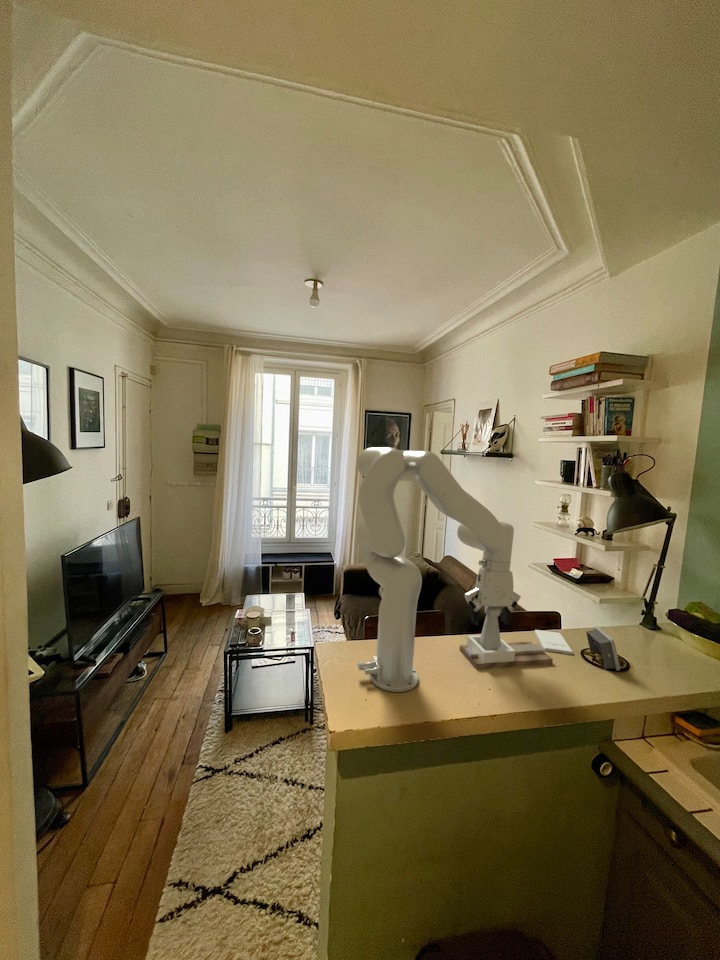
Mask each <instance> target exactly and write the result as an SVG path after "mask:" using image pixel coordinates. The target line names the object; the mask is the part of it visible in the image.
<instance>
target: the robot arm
mask: <svg viewBox="0 0 720 960" xmlns="http://www.w3.org/2000/svg"><path fill="white" fill-rule="evenodd" d="M356 467H357V470H358V472H359V473H360V475H362V477H363V479H362V481H361V485H360V488H359V492H358V504H359V509H360V512H361V516H362V518H361V519H360V520H359V522H358V524H357V526H356V531H355V533H356V534H355V535H356V540H357V544H358V547H359V550H360V553H361V555H362V559H363V561H364V564H365V567H366V570H367V573H368V574H369V576H370V577H371V578H372V579H373V581H374V582H375V583H377V584H378V585H380V587H382V588H383V595H382V598H381V600H380V603H379V607H378V620H377V621H378V623H377V638H376V639H377V644H376V655H373V656H372V657H373V658H372V660H369V661H361V662H357V669H358V671H364V675H365V676H367V675H369V679H370V680H371V682H372V683H373V684H374V685H375V686H376V687H378V688H379V689H381V690H385V691H387V692H393V693H404V692H408V691H410V690H412V689H414V688H416V686H417V685H418V683H419V673H418V672H417V670H416V669H415V668H414V653H415V639H416V637H415V636H416V622H417V621H416V620H417V609H418V608H417V607H418V601H419V597H420V593H421V589H422V584H423V578H422V574H421V571H420V568H419V567H418V566H417V565H416V564H415V563H414V562H413V561H412V560H410V559H408V558H406V557H404V556H403V555H401V554H402V553H403V552H404V549H405V547H406V535H405V532H404V529H403V526H402V523H401V520H400V516H399V513H398V510H397V507H396V503H395V490H396V487H397V485H398V483H399V482H400V481H402V482H403V481H406V482H412V483H415V484H416V485H418V487H419V488H420V489H421V491H422V492H423V493H424V494H425V495H426V496H427V498H428V499H429V500H430V502H431V503H432V504H433V506H434V507H435V508H436V509H437V510H438V511H439V512H441V513H442V514H443V515H445V516H447V517H449V518H450V519H452V520H454V521H456V522H457V523H459V525H458V528H457V531H456V532H457V533H456V534H457V535H456V536H457V538H458V539H459V541H460V542H461V543H463V544H464V545H467V546H469V547H471V548H473V549H477V550H479V551H482V552H483V554H482V559H481V560H478V565H479V566H481V567H480V568H479V570H478V572H477V576H476V579H475V585H474V588H473V589H472V590H469V591H468V592H465V593H464V594H463V596H464V598H465V601H466V603H467V605H468V606H469V607H470V609H471V611H470V621H471V623H473V624H474V625H475V626H479V624H480V616H481V615H480V614H481V612H480V611H479V610H480V609H481V608H482V607H486V606H488V607H499V608H501V607H502V608H501V614H500V621H501V622H503V624H505V625H506V626H509V625H510V621H511V615H512V612H513V611H514V609H515V608H516V607H517V605H518V602H519V601H520V599H521V595H520V594H518V593H516V592H515V591H514V576H513V571H512V570H510V569H511V563H512V553H513V552H512V551H513V543H514V535H515V534H514V532H515V529H514V526H513V525H512V524H511V523H508V522H502V521H499V519H497V517H496V516H495V515H494V513H492V512H491V511H490V510H489V509H488V508H487V507H486V506H485V505H483V504H482V503H480V502H479V501H478V500H477V499H476V498H475V497H473V496H472V495H471V494H470V493H468V492H466V491H465V489H463V488H462V486H461V485H460V483H459V482H458V481H457V480H456V479H455V477H454V476H453V474H452V473H451V472H450V471H449V469H448V467H447V466H446V465H445V463H444V462H443V461H442V460H441V459H440V457H439V456H438V455H436V454H435V453H434V452H432V451H429V450H403V449H401V450H400V449H397V448H396V447H395V448H394V447H391V446H387V447H386V446H382V447H381V446H379V447H378V446H377V447H373V446H372V447H367V448H365V449H364V450H363V451H361V452H360V454H359V455H358V456H357V461H356ZM472 598H474V599H473V600H472Z"/></svg>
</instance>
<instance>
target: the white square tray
mask: <svg viewBox="0 0 720 960" xmlns="http://www.w3.org/2000/svg"><path fill="white" fill-rule="evenodd" d="M480 637H481V634H479V635H478V634H477V635H467V637H466V638H467V640H466V645H467V646H468V647H469V648H473V649H474V650H475V651H476V652H477V653H478V658H479V659H480V660H481V661H482V662H483V663H494V662H509V661H514V660H515V650H514V649H513V648H511V647H510V646H509V645H508V644H507V643H508V642H506V641H505V640H503V638H501V637H500V640H501V646H500V648H499V650H489V651H485V650H484V649H483V648H482V646H481V643H480ZM500 649H502V650H500Z"/></svg>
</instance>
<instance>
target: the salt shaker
mask: <svg viewBox="0 0 720 960" xmlns="http://www.w3.org/2000/svg"><path fill="white" fill-rule="evenodd" d="M500 608H501V607H488V606H484V613H485V614H486V615H485V619H484V622H483V626H482V630H481V634H480V635H481V637H480V643H481V646H482V648H483V649H484V650H485V651H489V650H498V649H499V647H500V646H501V640H500V638H501V634H500V627H499V617H501V614H502V610H501V609H500Z"/></svg>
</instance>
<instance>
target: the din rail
mask: <svg viewBox="0 0 720 960" xmlns="http://www.w3.org/2000/svg"><path fill="white" fill-rule="evenodd" d="M509 646H510V647H511V648H513V649H514V650H515V655H521V654H537V653H546V651H545V649H544V648H543V647H542V645H541V644H538V643H533V644H525V645H509ZM499 648H500V647H499ZM498 650H499V649H498ZM500 650H502V649H500ZM465 652H466V653H467V654H468V655H469V656H470V657H471V658H474V657H478V653H477V652H476V651H475V650H474V649H473V648H465Z"/></svg>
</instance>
